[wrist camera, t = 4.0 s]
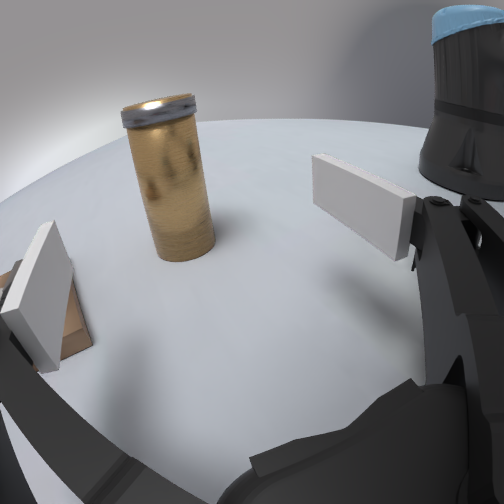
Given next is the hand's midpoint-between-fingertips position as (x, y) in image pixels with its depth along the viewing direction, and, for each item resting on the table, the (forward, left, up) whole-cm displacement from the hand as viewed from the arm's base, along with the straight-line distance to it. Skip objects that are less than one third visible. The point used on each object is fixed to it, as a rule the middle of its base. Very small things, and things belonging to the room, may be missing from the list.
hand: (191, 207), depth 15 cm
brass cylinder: (+3, -9, -7) cm, 12 cm away
